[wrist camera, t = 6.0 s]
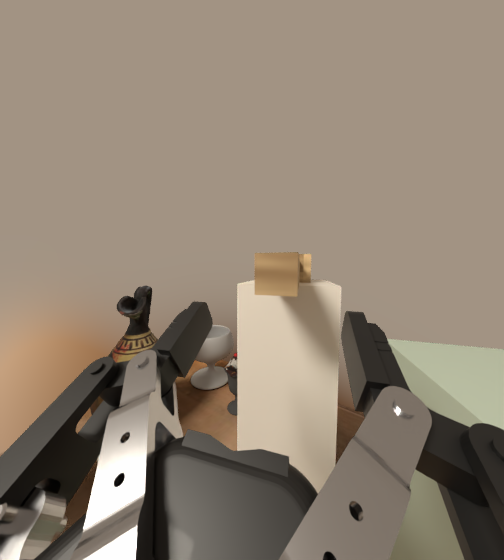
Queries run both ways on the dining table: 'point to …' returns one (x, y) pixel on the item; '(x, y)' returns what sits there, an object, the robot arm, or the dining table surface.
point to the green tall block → (457, 406)
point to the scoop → (281, 273)
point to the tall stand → (290, 375)
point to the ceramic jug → (133, 330)
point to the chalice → (213, 359)
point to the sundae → (232, 382)
